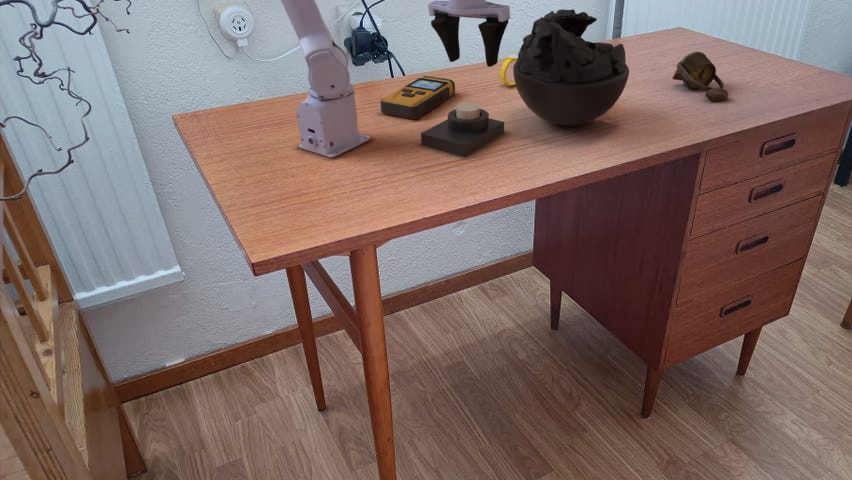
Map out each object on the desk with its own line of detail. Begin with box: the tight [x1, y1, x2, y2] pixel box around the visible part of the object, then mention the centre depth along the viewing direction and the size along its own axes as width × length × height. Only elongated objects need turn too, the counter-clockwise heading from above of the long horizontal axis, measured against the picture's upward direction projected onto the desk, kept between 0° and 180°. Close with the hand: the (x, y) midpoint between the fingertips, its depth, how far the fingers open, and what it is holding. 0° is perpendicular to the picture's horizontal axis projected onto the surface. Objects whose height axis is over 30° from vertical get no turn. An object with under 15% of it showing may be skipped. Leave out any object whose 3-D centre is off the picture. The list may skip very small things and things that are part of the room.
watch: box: [499, 54, 518, 87], centre depth 135 cm, size 6×3×6 cm, turn 128°
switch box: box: [420, 108, 505, 158], centre depth 112 cm, size 12×9×4 cm
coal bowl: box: [512, 8, 630, 127], centre depth 114 cm, size 20×20×19 cm
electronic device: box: [379, 75, 456, 120], centre depth 126 cm, size 8×16×3 cm, turn 154°
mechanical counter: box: [671, 51, 730, 102], centre depth 131 cm, size 7×13×10 cm
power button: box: [455, 102, 481, 120], centre depth 112 cm, size 4×4×2 cm
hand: (473, 62), depth 109 cm, fingers open, 7 cm apart
